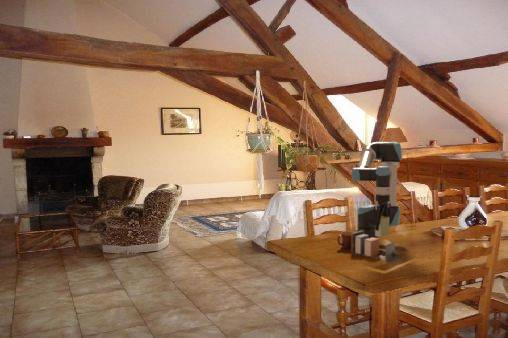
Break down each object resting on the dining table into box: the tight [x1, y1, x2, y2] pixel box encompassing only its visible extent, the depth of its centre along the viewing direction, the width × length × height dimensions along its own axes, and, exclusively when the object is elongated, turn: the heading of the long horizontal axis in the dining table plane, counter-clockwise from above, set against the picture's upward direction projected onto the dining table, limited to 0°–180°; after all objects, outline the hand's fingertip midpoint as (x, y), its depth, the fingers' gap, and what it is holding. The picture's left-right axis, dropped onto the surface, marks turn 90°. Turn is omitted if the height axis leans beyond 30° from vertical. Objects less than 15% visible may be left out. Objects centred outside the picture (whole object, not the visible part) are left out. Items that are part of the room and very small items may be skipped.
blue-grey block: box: [355, 234, 369, 256], centre depth 266 cm, size 4×8×10 cm, turn 134°
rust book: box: [364, 237, 380, 258], centre depth 261 cm, size 4×8×9 cm, turn 134°
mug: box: [336, 231, 354, 250], centre depth 277 cm, size 12×9×10 cm
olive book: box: [378, 216, 390, 238], centre depth 255 cm, size 4×8×10 cm, turn 134°
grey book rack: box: [350, 231, 401, 262], centre depth 260 cm, size 25×11×13 cm, turn 44°
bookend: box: [384, 242, 400, 262], centre depth 252 cm, size 4×8×8 cm, turn 134°
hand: (382, 234), depth 256 cm, fingers closed on olive book, 8 cm apart
